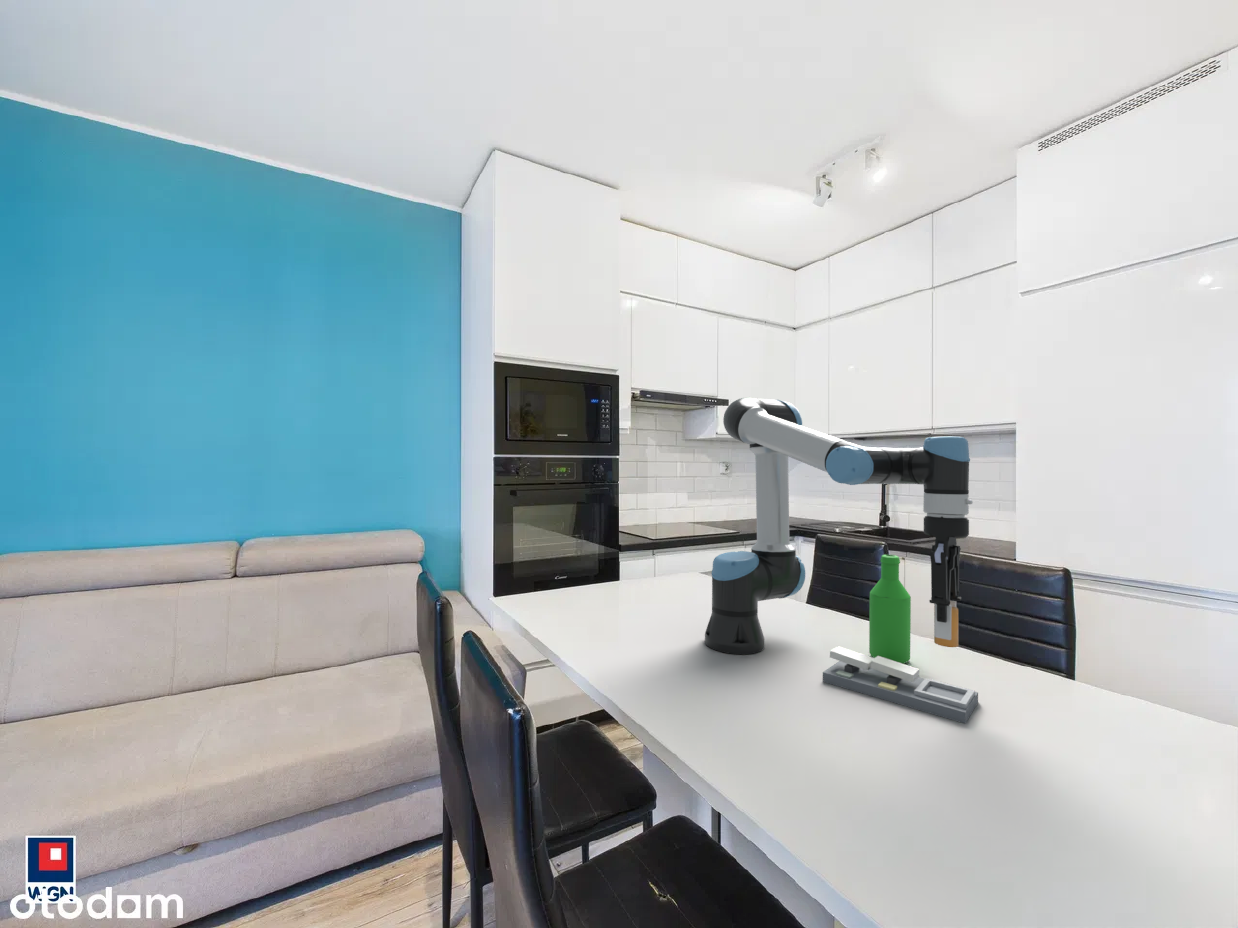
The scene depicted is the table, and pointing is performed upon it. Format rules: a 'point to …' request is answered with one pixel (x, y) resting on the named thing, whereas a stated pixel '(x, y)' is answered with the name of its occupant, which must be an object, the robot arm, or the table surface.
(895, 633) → the bottle
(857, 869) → the table surface
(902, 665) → the breaker
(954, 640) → the pin
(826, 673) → the panel
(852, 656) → the block
